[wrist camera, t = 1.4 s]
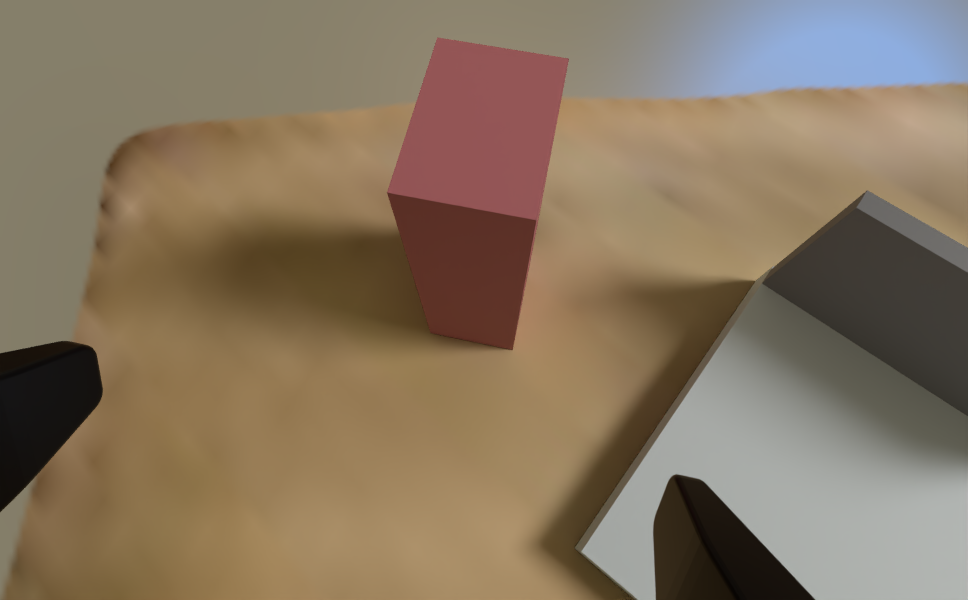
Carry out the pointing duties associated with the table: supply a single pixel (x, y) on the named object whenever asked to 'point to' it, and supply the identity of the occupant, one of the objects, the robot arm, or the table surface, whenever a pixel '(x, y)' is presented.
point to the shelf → (826, 419)
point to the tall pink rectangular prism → (476, 184)
